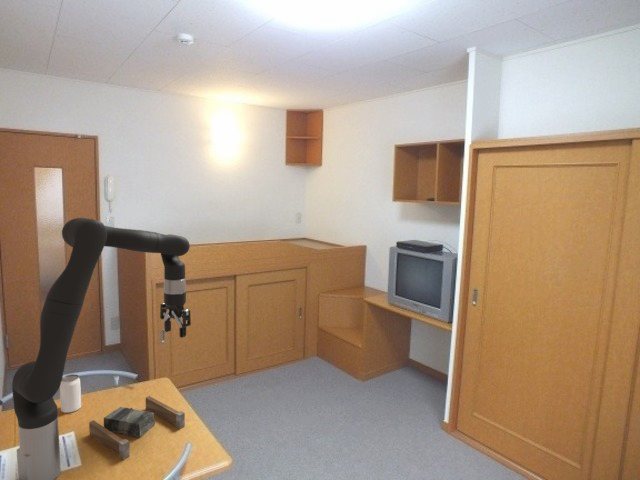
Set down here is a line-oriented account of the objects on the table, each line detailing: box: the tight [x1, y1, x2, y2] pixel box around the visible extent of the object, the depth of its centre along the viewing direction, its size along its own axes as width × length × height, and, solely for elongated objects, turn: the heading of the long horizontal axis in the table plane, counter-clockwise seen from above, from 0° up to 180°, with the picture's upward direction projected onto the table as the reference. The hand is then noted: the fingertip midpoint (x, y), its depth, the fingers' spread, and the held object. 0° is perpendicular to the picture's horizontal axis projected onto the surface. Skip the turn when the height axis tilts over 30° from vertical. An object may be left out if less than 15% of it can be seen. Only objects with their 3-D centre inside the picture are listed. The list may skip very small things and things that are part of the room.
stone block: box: [103, 406, 156, 439], centre depth 144 cm, size 9×14×5 cm, turn 75°
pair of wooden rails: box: [88, 395, 186, 461], centre depth 142 cm, size 22×20×5 cm
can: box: [59, 373, 82, 414], centre depth 153 cm, size 6×6×12 cm
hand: (175, 334), depth 152 cm, fingers open, 8 cm apart
